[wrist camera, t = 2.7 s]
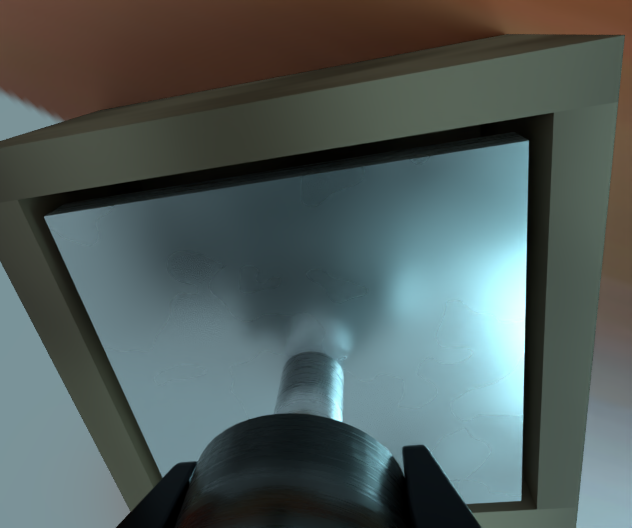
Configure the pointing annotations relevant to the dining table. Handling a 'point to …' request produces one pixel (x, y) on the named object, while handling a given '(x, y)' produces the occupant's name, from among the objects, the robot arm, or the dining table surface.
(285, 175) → the plunger
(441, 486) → the robot arm
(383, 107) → the frame
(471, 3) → the dining table surface
